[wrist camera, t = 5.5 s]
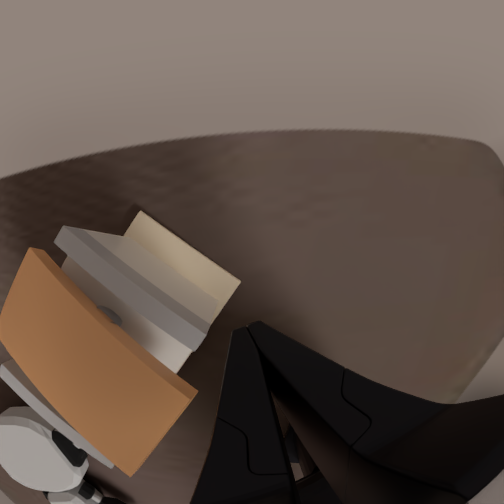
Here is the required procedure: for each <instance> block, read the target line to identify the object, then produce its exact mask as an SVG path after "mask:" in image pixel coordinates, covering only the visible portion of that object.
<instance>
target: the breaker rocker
mask: <svg viewBox="0 0 504 504" xmlns="http://www.w3.org/2000/svg"><path fill="white" fill-rule="evenodd" d="M121 324H122V320H121V318H120V317H119V316H118V315H117V314H116V313H115V312H114V311H112V310H111V309H109V308H107V307H105V306H101V305H99V306H97V305H96V304H95V303H94V302H93V301H92V300H91V299H89V298H88V297H87V296H86V295H85V294H84V293H83V292H82V291H81V289H80V288H79V287H78V286H77V285H76V284H75V283H74V282H73V281H72V280H71V279H70V278H69V277H68V276H67V275H66V274H65V273H64V272H63V271H62V270H61V269H60V267H59V266H58V265H57V264H56V263H55V262H54V261H53V260H52V259H51V258H50V256H49V255H48V254H47V253H46V252H45V251H44V250H41V249H36V248H32V247H29V249H28V251H27V253H26V255H25V257H24V259H23V261H22V264H21V266H20V268H19V270H18V272H17V275H16V277H15V279H14V282H13V284H12V286H11V289H10V291H9V294H8V296H7V299H6V301H5V304H4V307H3V309H2V312H1V315H0V340H1V342H2V343H3V345H4V346H5V348H6V349H7V350H8V352H9V353H10V355H11V356H12V357H13V359H14V360H15V361H16V363H17V364H18V365H19V367H20V368H21V369H22V371H23V372H24V373H25V374H26V376H27V377H28V378H29V379H30V381H31V382H32V383H33V384H34V385H35V387H36V388H37V389H38V390H39V391H40V392H41V394H42V395H43V396H44V397H45V398H46V399H47V400H48V402H49V403H50V404H51V405H52V406H53V407H54V408H55V409H56V410H57V411H58V412H59V413H60V415H61V416H62V417H63V418H64V419H65V420H66V421H67V422H68V423H69V424H70V425H71V426H72V427H73V428H74V429H75V430H76V431H77V432H78V433H79V434H80V435H81V436H83V437H84V438H85V439H86V440H87V441H88V442H89V443H90V444H91V445H92V446H93V447H95V448H96V449H97V450H98V451H99V452H100V453H101V454H102V455H104V456H105V457H106V458H107V459H108V460H110V461H111V462H112V463H113V464H114V465H116V466H117V467H118V468H119V469H121V470H122V471H123V472H124V473H126V474H127V475H128V476H130V477H131V476H132V475H133V474H134V473H135V472H136V471H137V470H138V469H139V467H140V466H141V465H142V464H143V463H144V461H145V460H146V459H147V458H148V456H149V455H150V454H151V453H152V451H153V450H154V449H155V448H156V446H157V445H158V444H159V442H160V441H161V440H162V439H163V437H164V436H165V435H166V433H167V432H168V431H169V430H170V428H171V427H172V426H173V424H174V423H175V422H176V421H177V419H178V418H179V417H180V415H181V414H182V413H183V411H184V410H185V409H186V407H187V406H188V405H189V403H190V402H191V401H192V399H193V398H194V397H195V396H196V394H197V393H198V392H199V391H198V390H196V389H195V388H194V387H192V386H191V385H190V384H188V383H187V382H186V381H184V380H183V379H182V378H180V377H179V376H178V375H176V374H175V373H174V372H173V371H171V370H170V369H169V368H168V367H166V366H165V365H164V364H163V363H161V362H160V361H159V360H158V359H156V358H155V357H154V356H153V355H151V354H150V353H149V352H148V351H147V350H145V349H144V348H143V347H142V346H141V345H140V344H138V343H137V342H136V341H135V340H134V339H133V338H131V337H130V336H129V335H128V334H127V333H126V332H125V331H124V330H122V329H121V328H120V326H121Z"/></svg>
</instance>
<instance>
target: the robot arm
mask: <svg viewBox="0 0 504 504" xmlns="http://www.w3.org/2000/svg"><path fill="white" fill-rule="evenodd" d="M270 391H271V392H270ZM271 393H272V395H273V396H274V398H275V400H276V402H277V403H278V405H279V406H280V408H281V410H282V411H283V413H284V415H285V416H286V418H287V419H288V421H289V426H288V429H287V432H286V435H285V438H284V439H283V435H282V431H281V428H280V424H279V420H278V417H277V413H276V409H275V406H274V402H273V398H272V395H271ZM290 462H292V463H300V466H301V469H302V472H303V475H304V477H303V478H301V479H299V480H297V481H295V478H294V475H293V471H292V468H291V464H290ZM190 504H504V394H503V395H499V396H494V397H490V398H485V399H480V400H475V401H470V402H464V403H459V404H442V403H436V402H432V401H429V400H425V399H422V398H419V397H416V396H413V395H410V394H407V393H404V392H401V391H398V390H395V389H392V388H390V387H387V386H384V385H382V384H379V383H377V382H374V381H372V380H370V379H367V378H365V377H363V376H361V375H359V374H357V373H355V372H353V371H351V370H349V369H347V368H344V367H343V366H341V365H339V364H338V363H336V362H334V361H332V360H330V359H328V358H326V357H324V356H323V355H321V354H319V353H317V352H315V351H313V350H312V349H310V348H308V347H306V346H304V345H302V344H301V343H299V342H297V341H295V340H293V339H292V338H290V337H288V336H286V335H285V334H283V333H281V332H279V331H277V330H276V329H274V328H272V327H270V326H269V325H267V324H265V323H264V322H262V321H256V322H253V323H250V324H248V325H247V327H246V326H242V327H239V328H236V329H233V330H232V332H231V337H230V343H229V348H228V353H227V359H226V364H225V369H224V375H223V380H222V386H221V391H220V396H219V402H218V407H217V413H216V419H215V423H214V428H213V433H212V437H211V442H210V446H209V449H208V452H207V456H206V459H205V462H204V465H203V468H202V471H201V473H200V476H199V479H198V482H197V485H196V487H195V490H194V493H193V496H192V498H191V501H190Z"/></svg>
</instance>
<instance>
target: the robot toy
mask: <svg viewBox="0 0 504 504" xmlns="http://www.w3.org/2000/svg"><path fill="white" fill-rule="evenodd" d="M87 456H88V455H87V453H86V451H84V450H83V449H81V448H80V447H79V446H77V445H76V444H75V443H73V442H72V441H71V440H69V439H68V438H67V437H66V436H64V435H63V434H62V433H61V432H59V431H58V430H57V429H56V428H54V427H53V426H52V425H51V424H50V423H48V422H47V421H46V420H45V419H44V418H43V417H41V416H40V415H39V414H38V413H37V412H36V411H35V410H34V409H32V408H31V407H26V406H23V407H10V408H8V409H7V410H5V411H4V412H3V413H1V414H0V464H1V465H2V466H3V468H4V469H5V470H6V471H7V473H8V474H9V475H10V476H11V477H12V478H13V479H14V480H16V481H17V482H19V483H21V484H22V485H24V486H26V487H29V488H32V489H36V490H41V491H43V494H44V495H45V497H46V499H48V500H49V502H50V503H51V504H126V503H124V502H122V501H121V500H119V499H117V498H110V497H104V496H103V495H102V494H101V493H100V492H99V491H97V490H96V489H95V487H93V486H92V485H90V484H89V483H87V482H86V481H85V480H84V479H82V478H83V476H84V474H85V473H86V471H87V468H88V466H89V464H88V460H87Z"/></svg>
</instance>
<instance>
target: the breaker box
mask: <svg viewBox="0 0 504 504" xmlns="http://www.w3.org/2000/svg"><path fill="white" fill-rule="evenodd" d="M54 243H55V244H56V245H57V246H58V247H59V248H60V249H62V250H63V251H64V252H65V253H66V254H67V257H66V259H65V261H64V263H63V265H62V267H61V268H60V269H61V270H62V271H63V272H64V273H65V274H66V275H67V276H68V277H69V278H70V279H71V280H72V281H73V282H74V283H75V284H76V285H77V286H78V287H79V288H80V289H81V291H82V292H83V293H84V294H85V295H86V296H87V297H88V298H89V299H91V300H92V301H93V302H94V303H95V304H96V305H97V306H99V305H101V306H105V307H107V308H109V309H111V310H112V311H114V312H115V313H116V314H117V315H118V316H119V317H120V318H121V320H122V324H121V326H120V328H121V329H122V330H124V331H125V332H126V333H127V334H128V335H129V336H130V337H131V338H133V339H134V340H135V341H136V342H137V343H138V344H140V345H141V346H142V347H143V348H144V349H145V350H147V351H148V352H149V353H150V354H151V355H153V356H154V357H155V358H156V359H158V360H159V361H160V362H161V363H163V364H164V365H165V366H166V367H168V368H169V369H170V370H171V371H173V372H174V373H175V374H177V373H178V371H179V370H180V369H181V367H182V366H183V364H184V363H185V361H186V360H187V359H188V357H189V356H190V354H191V353H192V351H194V352H195V351H196V350H197V348H198V347H199V345H200V344H201V343H202V341H203V340H204V338H205V337H206V335H207V333H208V330H209V327H210V326H211V324H212V323H213V321H214V320H215V318H216V317H217V316H218V314H219V313H220V311H221V310H222V308H223V307H224V306H225V304H226V303H227V301H228V300H229V298H230V297H231V295H232V294H233V293H234V291H235V290H236V288H237V287H238V285H239V284H240V283H241V280H239V279H238V278H236V277H235V276H233V275H232V274H230V273H229V272H227V271H226V270H225V269H223V268H222V267H220V266H219V265H217V264H216V263H215V262H213V261H212V260H210V259H209V258H207V257H206V256H205V255H203V254H202V253H200V252H199V251H197V250H196V249H195V248H193V247H192V246H190V245H189V244H187V243H186V242H185V241H183V240H182V239H180V238H179V237H178V236H176V235H175V234H173V233H172V232H171V231H169V230H168V229H166V228H165V227H164V226H162V225H161V224H159V223H158V222H157V221H155V220H154V219H153V218H151V217H150V216H148V215H147V214H146V213H144V212H142V211H139V213H138V214H137V216H136V217H135V219H134V220H133V222H132V223H131V225H130V226H129V228H128V229H127V231H126V233H125V234H124V236H119V235H113V234H108V233H102V232H97V231H91V230H86V229H80V228H75V227H69V226H64V225H63V226H62V228H61V230H60V232H59V234H58V235H57V237H56V239H55V241H54ZM0 377H1V378H2V379H3V380H4V381H5V382H6V383H7V384H8V385H9V386H10V387H11V388H12V389H13V390H14V391H15V392H16V393H17V394H18V395H19V396H20V397H21V398H22V399H23V400H24V401H25V402H26V403H27V404H28V405H29V406H30V407H31V408H32V409H34V410H35V411H36V412H37V413H38V414H39V415H40V416H41V417H43V418H44V419H45V420H46V421H47V422H48V423H50V424H51V425H52V426H53V427H54V428H56V429H57V430H58V431H59V432H61V433H62V434H63V435H64V436H66V437H67V438H68V439H69V440H71V441H72V442H73V443H75V444H76V445H77V446H79V447H80V448H81V449H83V450H84V451H86V452H87V453H88V454H90V455H91V456H93V457H94V458H96V459H97V460H99V461H100V462H102V463H103V464H105V465H106V466H108V467H109V468H111V469H112V468H113V466H114V464H113V463H112V462H111V461H110V460H108V459H107V458H106V457H105V456H104V455H102V454H101V453H100V452H99V451H98V450H97V449H96V448H95V447H93V446H92V445H91V444H90V443H89V442H88V441H87V440H86V439H85V438H84V437H83V436H81V435H80V434H79V433H78V432H77V431H76V430H75V429H74V428H73V427H72V426H71V425H70V424H69V423H68V422H67V421H66V420H65V419H64V418H63V417H62V416H61V415H60V413H59V412H58V411H57V410H56V409H55V408H54V407H53V406H52V405H51V404H50V403H49V402H48V400H47V399H46V398H45V397H44V396H43V395H42V394H41V392H40V391H39V390H38V389H37V388H36V387H35V385H34V384H33V383H32V382H31V381H30V379H29V378H28V377H27V376H26V374H25V373H24V372H23V371H22V369H21V368H20V367H19V365H18V364H17V363H16V361H15V360H14V359H11V360H8V361H6V362H4V363H2V365H1V368H0Z"/></svg>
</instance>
